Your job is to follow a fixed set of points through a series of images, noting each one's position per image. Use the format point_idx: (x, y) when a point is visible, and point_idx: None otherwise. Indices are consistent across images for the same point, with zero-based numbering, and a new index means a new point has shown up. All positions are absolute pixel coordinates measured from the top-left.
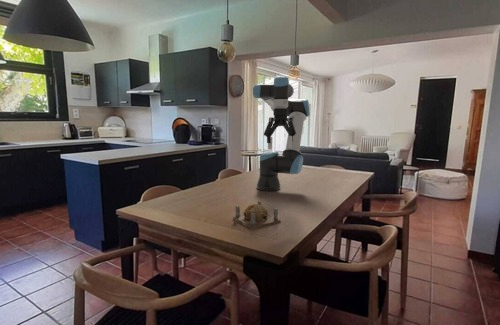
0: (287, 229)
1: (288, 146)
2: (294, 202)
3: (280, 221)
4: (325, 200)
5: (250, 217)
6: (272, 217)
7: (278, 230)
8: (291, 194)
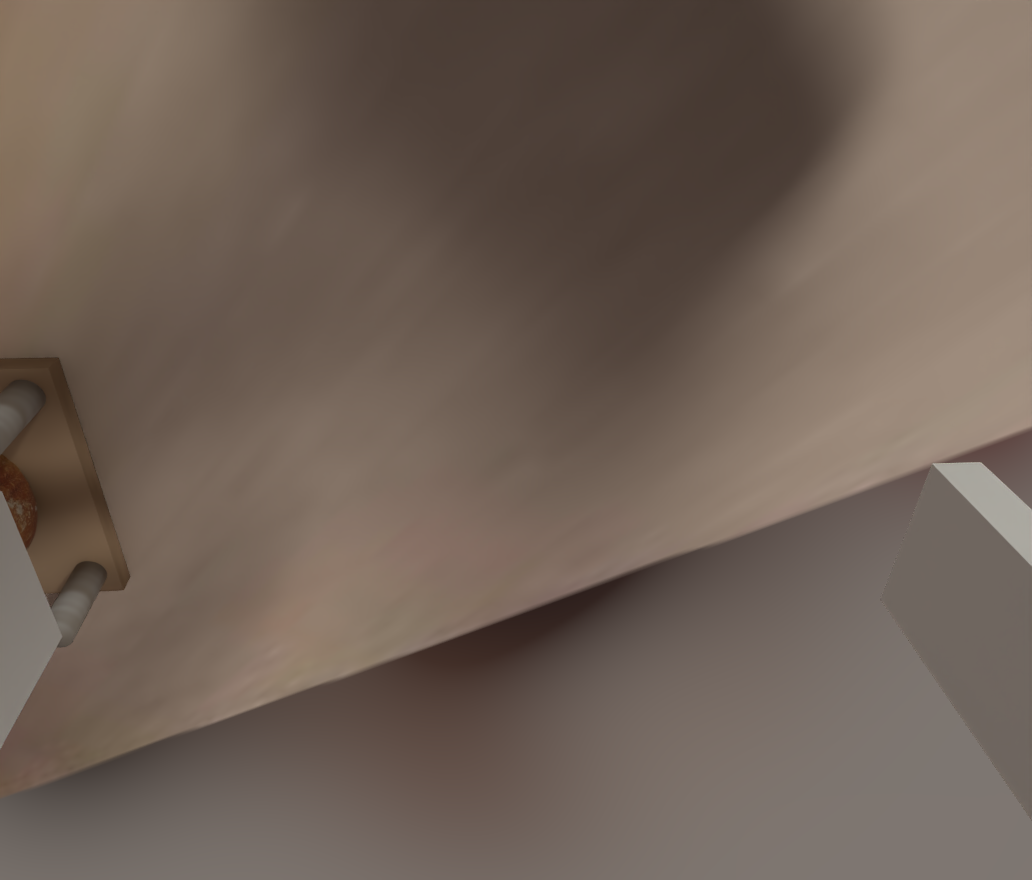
0: (118, 659)
1: (945, 534)
2: (550, 287)
3: (126, 582)
4: (829, 394)
5: None
6: (86, 534)
7: None
8: (778, 9)
